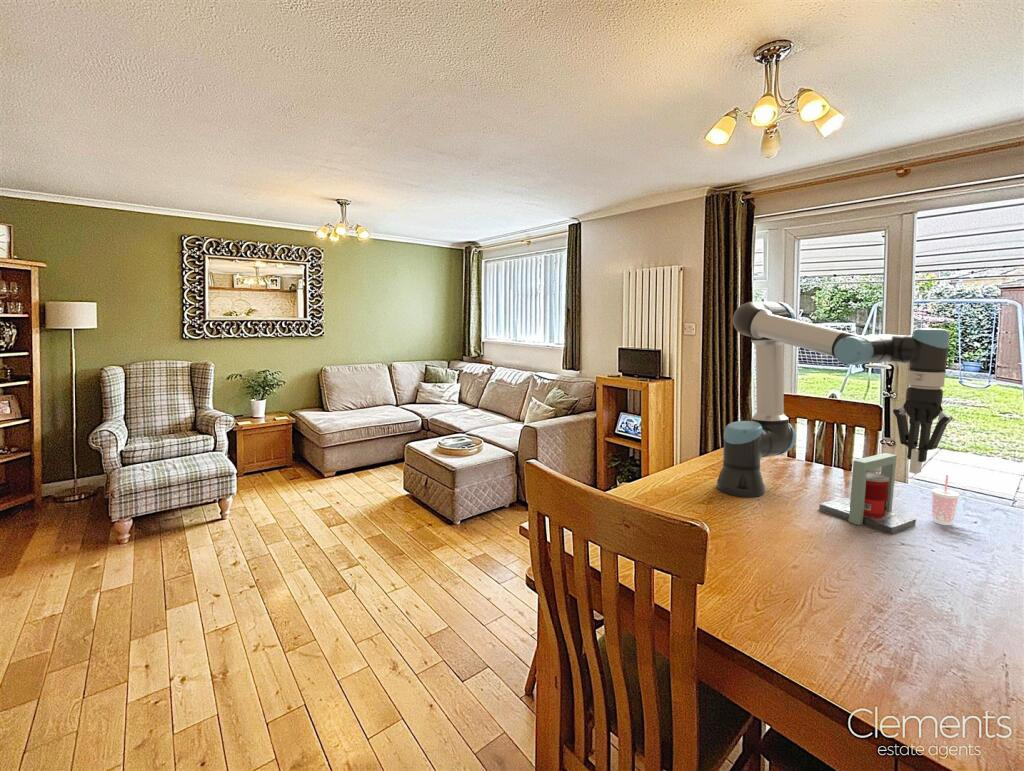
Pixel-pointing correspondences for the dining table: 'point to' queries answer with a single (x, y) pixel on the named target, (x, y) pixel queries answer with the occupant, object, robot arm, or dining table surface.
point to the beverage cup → (944, 505)
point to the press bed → (870, 517)
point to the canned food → (876, 494)
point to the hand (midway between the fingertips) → (915, 472)
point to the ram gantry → (860, 466)
